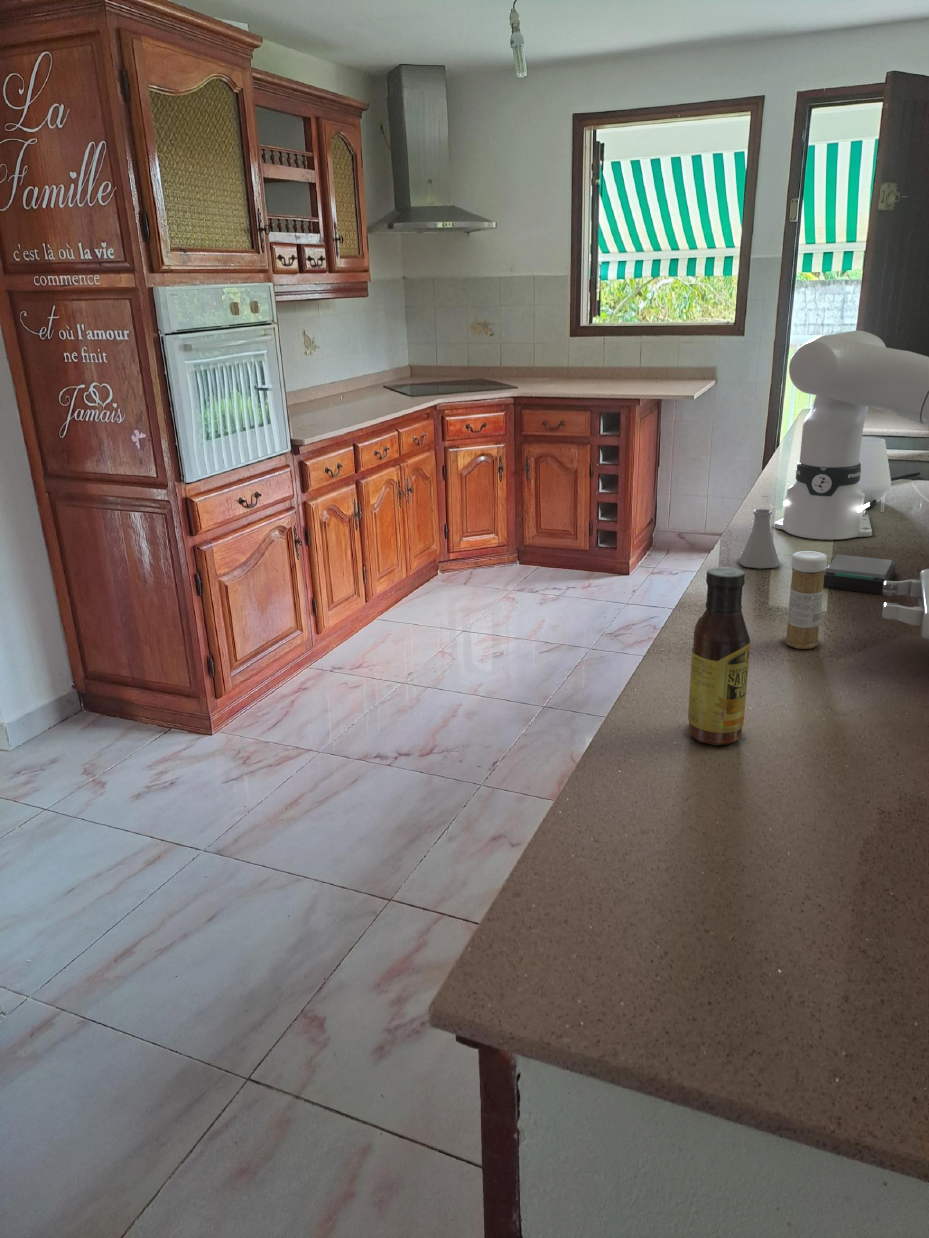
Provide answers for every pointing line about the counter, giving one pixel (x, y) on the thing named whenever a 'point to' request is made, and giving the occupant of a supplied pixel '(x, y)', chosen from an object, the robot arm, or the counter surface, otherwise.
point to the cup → (874, 469)
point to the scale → (858, 573)
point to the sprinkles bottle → (805, 599)
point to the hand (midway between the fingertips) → (882, 598)
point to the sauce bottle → (719, 662)
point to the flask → (760, 543)
